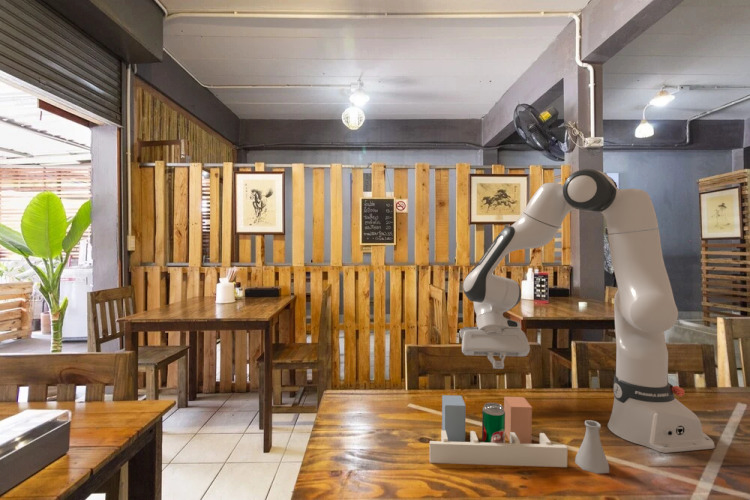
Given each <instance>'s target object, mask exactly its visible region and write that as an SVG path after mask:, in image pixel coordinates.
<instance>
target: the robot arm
mask: <svg viewBox="0 0 750 500" xmlns="http://www.w3.org/2000/svg"><path fill="white" fill-rule="evenodd" d="M574 210H579V211H582V212H588V213H590V212H591V213H592V212H597V213H601V214H602V215H603V217H604V219H605V222H606V230H607V237H608V244H609V253H610V260H611V266H612V268H613V272H614V277H615V280H616V285H617V290H616V292H615V294H614V299H613V312H614V315H613V316H614V331H615V332H614V333H615V342H616V350H615V351H616V356H615V357H616V358H615V359H616V361H615V374H614V375H613V397H614V398H613V399H614V400H613V405H612V411H611V414H610V418H609V421H608V422H607V428H608V430H610V431H611V433H613V434H614V435H616V437H617V436H618V437H619V438H621V439H623V440H625V441H628V442H631V443H634V444H636V445H641V446H644V447H647V448H650V449H652V450H654V451H656V452H660V453H666V454H667V453H677V452H689V451H699V450H710V449H715V448H716V445H715V442H714V441H713V439H712V438H710V436H709V435H707V434H706V433H705V432H703V426H702V422H701V421H700V419H699V417H698V416H697V415H696V413H694V412H693V411H692V410H690V409H689V408H688V407H687V406H685V405H684V404H683V403H682V402H680V401H679V400H678V399H677V398H675V395H676V396H678V397H683V396H684V395H685V393H686V392H685V390H684V389H683V388H682V387H679V386H677V385H674V386H673V384H671V383H670V382H668V377H669V375H668V372H669V371H668V370H669V351H668V347H667V342H666V336H665V332H666V331H668V330H670V329H671V328H673V327H674V326H675V324H676V323H677V321H678V317H679V310H678V307H677V305H676V302H675V298H674V292H673V289H672V285H671V282H670V277H669V275H668V272H667V268H666V265H665V261H664V256H663V250H662V244H661V243H662V242H661V235H660V229H659V223H658V222H659V221H658V217H657V213H656V210H655V207H654V204H653V201H652V199H651V197H650V194H649V193H648V192H647V191H645V190H642V189H640V188H623V189H621V188H618V186H617V183H616V182H615V180H614V179H613V178H612V177H610V176H609V175H608V174H607V173H606V172H603V171H600V170H597V169H593V168H584V169H583V168H582V169H579V170H577V171H574V172H572V173H571V174H570V175H569V176H568V177H567V178H566V180H565V182H564V184H562V183H561V184H560V183H557V182H545V183H543V184H542V185H540V186H539V187H538V189H537V190H536V191H535V193H534V194H533V195H532V197H531V198H530V200H529V201H528V202H527V205H526V206H525V207H524V210H523V212H522V213H521V215H520V217H519V218H518V219H517V220H516V221H514V223H513V224H511V225H509V226H507V227H506V226H505V228H503V229H502V230H501V231H500V232H499V233H498V234H497V236H495V238H494V240H493V241H492V243H491V244H490V245H489V247H488V248H487V250H486V251H485V252H484V254H483V255H482V257H481V258H480V260H479V261H478V262H477V264H476V265H475V266H474V268H472V269H471V271H469V273H468V274H467V275H466V276H465V278H464V280H463V283H462V290H463V293H464V295H465V296H466V298H467V299H468V300H469V301H470V302H473V309H474V313H475V315H476V317H475V321H476V322H475V323H476V326H464V327H463V328H460V330H459V338H460V339H461V352H462V354H463V355H464V356H479V357H480V356H483V357H484V356H487V360H488V361H490V363H491V364H492V369H495V370H496V369H500V370H501V369H502V370H504V368H505V363H504V362H505V359H506V357H527V356H528V354H529V353H530V350H531V345H530V343H529V340H528V337H527V335H526V333H525V332H524V331H523V330H522V324H521V322H519V321H516V320H512V319H509V318H507V317H504V313H507V312H509V311H510V310H512V309H513V308H515V307H516V306H517V305H518V304H519V303H520V301H521V300H522V289H521V287H520V284H519V283H518V281H516V280H514V279H512V278H508V277H504V276H499V275H497V274H494V271H496V269H497V267H498V266H499V265H500V263H501V262H502V260H503V259H504V258H505V257H506V256H507V255H508V254H509V253H512V252H515V251H518V250H527V249H528V250H529V249H538V248H542V247H544V246H546V245H548V244H549V243H551V241H552V240H554V238H555V236H556V234H557V233H558V231H559V230H560V227H561V225H562V223H563V221H564V220H565V218H566V217H567V216H568V214H569V213H570V212H572V211H574ZM494 356H495V357H499V359H501V360H496V359H495V358H494Z"/></svg>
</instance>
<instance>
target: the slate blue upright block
mask: <svg viewBox="0 0 750 500" xmlns="http://www.w3.org/2000/svg"><path fill="white" fill-rule="evenodd" d="M441 400H442V401H441V430H446V434H447V438H448V441H449V442H466V421H467V419H466V418H467V417H466V416H467V415H466V411H467V410H466V407H467V406H466V403H465V401H464V399H463V395H451V394H450V395H448V394H447V395H446V394H445V395H443V394H442V395H441Z"/></svg>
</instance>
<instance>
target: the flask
mask: <svg viewBox="0 0 750 500" xmlns="http://www.w3.org/2000/svg"><path fill="white" fill-rule="evenodd" d="M601 424H602V423H599V422H598V421H596V420H591V419H590V420H589V419H587V420H585V421H584V426H585V434H584V437H583V440H582V442H581V444H580V447H579V449H578V451H577V453H576V455H575V459H574V463H575V464H576V465H577V466H578V467H579V468H581V470H582V471H587V472H590V473H594V474H597V475H598V474H609V473H610V464H609V462H608V459H607V456H606V453H605V451H604V448H603V445H602V441H601V436H600V430H601V428H602V427H601V426H602V425H601Z"/></svg>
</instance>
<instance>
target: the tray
mask: <svg viewBox="0 0 750 500" xmlns="http://www.w3.org/2000/svg"><path fill="white" fill-rule="evenodd" d="M469 432H470V433H469V436H470V437H469V440H470V441H465V442H461V441H448V438H447V434H446V430H442V429H441V431H440V435H441V437H440V439H441V440H440V441H439V440H429V463H430V464H451V465H452V464H453V465H454V464H457V465H458V464H459V465H460V464H461V465H485V466H488V465H489V466H515V467H516V466H517V467H518V466H521V467H524V466H525V467H547V468H548V467H553V468H568V447H567V445H566V444H552V441H551V440H550V439H549V437H547V435H546V433H544V432H540V433H539V443H531V444H530V443H520V441H519V439H518V437H517V436H516V434H515V432H510V441H509V443H508V442H505V443H484V442H482V441H479V438H478V436H477V434H476V431H475V430H470V431H469Z"/></svg>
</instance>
